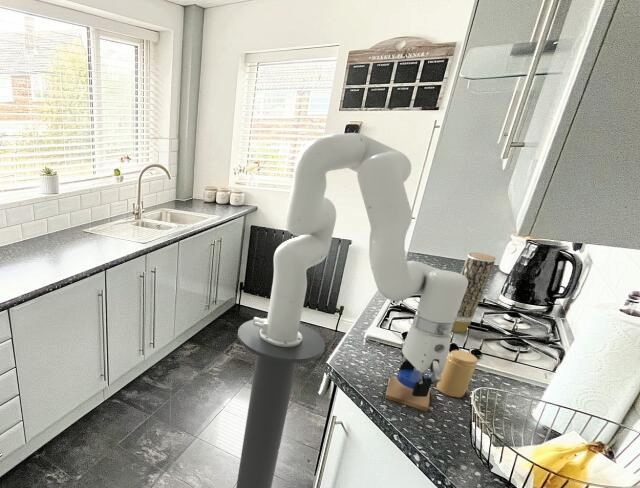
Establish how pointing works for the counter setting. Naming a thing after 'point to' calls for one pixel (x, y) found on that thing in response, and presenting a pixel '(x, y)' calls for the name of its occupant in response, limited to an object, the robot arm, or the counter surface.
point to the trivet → (405, 395)
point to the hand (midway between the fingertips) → (411, 386)
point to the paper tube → (473, 287)
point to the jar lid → (409, 377)
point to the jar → (457, 373)
